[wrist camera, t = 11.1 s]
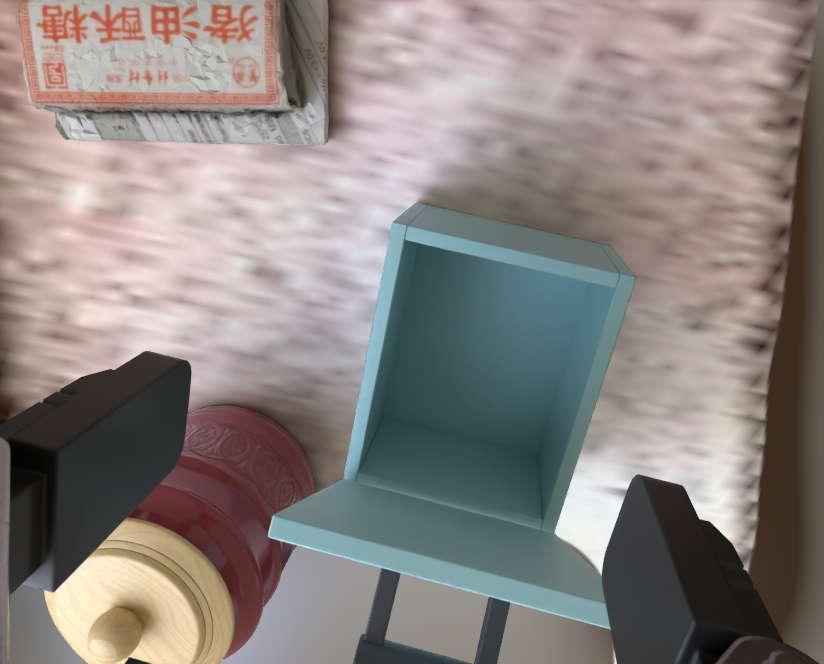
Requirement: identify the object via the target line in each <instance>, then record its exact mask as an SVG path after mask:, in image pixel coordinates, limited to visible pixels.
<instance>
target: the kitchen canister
mask: <svg viewBox="0 0 824 664" xmlns="http://www.w3.org/2000/svg"><path fill="white" fill-rule="evenodd" d="M313 494H315V486H314V478H313V473H312V469H311V466H310V464H309V461H308V459H307V457H306V455H305V453H304V452H303V450H302V448H301V447H300V445H299V444H298V443H297V441H296V440H295V439H294V438H293V437H292V436H291V435H290V434H289V433H288V432H287V431H286V430H285V429H284V428H283V427H282V426H280V425H279V424H278V423H276V422H275V421H273V420H272V419H270V418H268V417H267V416H265V415H263V414H261V413H258V412H256V411H253V410H250V409H247V408H243V407H238V406H230V405H216V406H209V407H204V408H201V409H198V410H195V411H193V412H191V413H188V414H187V424H186V434H185V442H184V446H183V450H182V453H181V456H180V458H179V460H178V462H177V464H176V466H175V468H174V469H173V470H172V472H171V473H170V474H169V475H168V476H167V477H166V478H165V479H164V480H163V481H162V482H161V483H160V484H159V485H158V486H157V487H156V488H155V489H154V490H153V491H152V492H151V494H150V495H149V496H148V497H147V498H146V499H145V500H144V501H143V502H142V503H141V504H140V505H139V506H138V507H137V508H136V509H135V510H134V511H133V512H132V513H131V514H130V515H129V516H128V517H127V518H126V519H125V520H124V521H123V522H122V523H121V524H120V525H119V526H118V527H117V528H116V529H115V530H114V532H113V533H112V534H111V535H110V536H109V537H108V538H107V539H106V540H105V541H104V542H103V543H102V544H101V545H100V546H99V547H98V548H97V549H96V550H95V551H94V552H93V553H92V554H91V555H90V556H89V557H88V558H87V559H86V560H85V561H84V562H83V563H82V564H81V565H80V566H79V567H78V568H77V569H76V571H75V572H74V573H73V574H72V575H71V576H70V577H69V578H68V579H67V580H66V581H65V582H64V583H63V584H62V585H61V586H60V587H59V588H58V589H57V590H56V591H55V592H54V593H53V592H50V591H46V590H44V592H45V599H46V603H47V606H48V609H49V612H50V614H51V617H52V619H53V621H54V623H55V625H56V626H57V628H58V630H59V631H60V633H61V634H62V636H63V637H64V638H65V639H66V641H67V642H68V643H69V644H70V646H71V647H72V648H73V649H74V650H75V651H76V652H77V653H78V655H79V656H80V657H82V658H83V659H84V660H85V661H86V662H87V663H89V664H125V662H126V661H127V660H128V658H129V657H131V658H134V659H138V660H141V661H145V662H148V663H152V664H220V662H221V661H222V660H223V659H225V658H227V657H229V656H231V655H232V654H234V653H235V652H236V651H238V650H239V649H240V648H241V647H242V646H243V645H244V644H245V643H246V642H247V641H248V640H249V639H250V637H251V636H252V635H253V633H254V631H255V630H256V628H257V625H258V623H259V621H260V618H261V615H262V611H263V607H264V606H265V605H266V604H267V603H268V601H269V600H270V599H271V597H272V595H273V594H274V592H275V590H276V588H277V586H278V583H279V580H280V575H281V572H282V570H283V568H284V567H285V564H286V563H287V561H288V559H289V557H290V555H291V553H292V551H293V550H294V549H295V547H296V546H297V545H294V544H290V543H287V542H283V541H279V540H276V539H272V538H269V537H268V532H269V528H270V525H271V521H272V517H273V515H274V514H276V513H278V512H280V511H282V510H284V509H286V508H288V507H290V506H292V505H294V504H295V503H297V502H299V501H301V500H303V499H305V498H307V497H309V496H311V495H313Z"/></svg>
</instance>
